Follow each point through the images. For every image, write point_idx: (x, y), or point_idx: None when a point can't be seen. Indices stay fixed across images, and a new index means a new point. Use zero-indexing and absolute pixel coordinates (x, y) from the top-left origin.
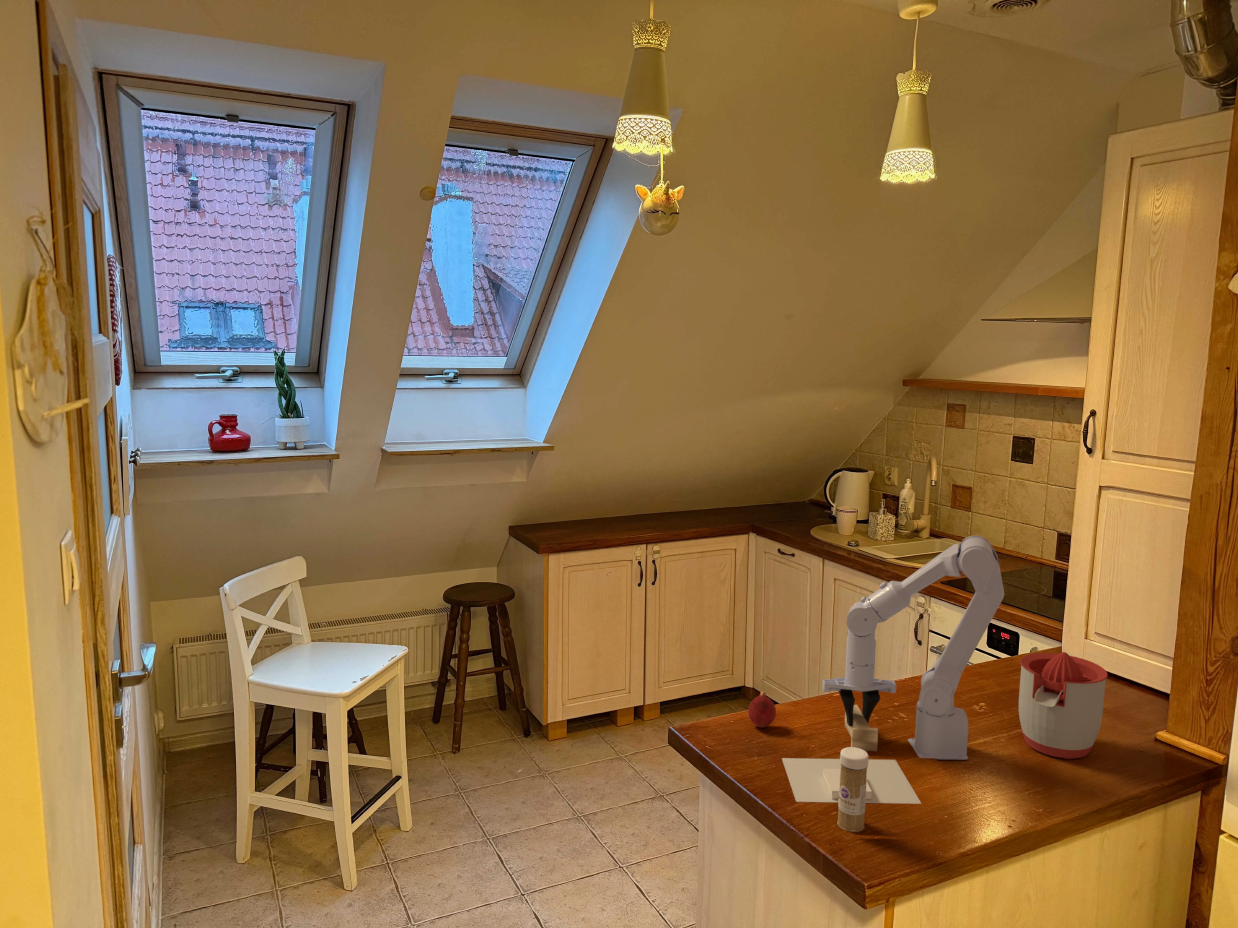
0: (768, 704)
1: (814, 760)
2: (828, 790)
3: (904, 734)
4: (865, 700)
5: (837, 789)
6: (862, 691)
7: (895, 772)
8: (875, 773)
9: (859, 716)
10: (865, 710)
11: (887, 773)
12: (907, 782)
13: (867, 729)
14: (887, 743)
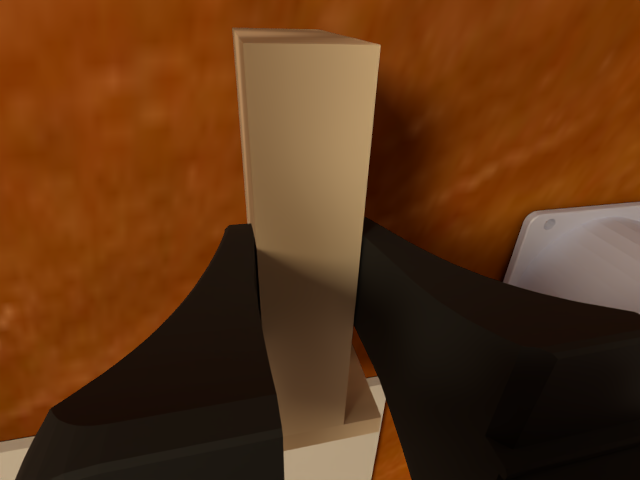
0: None
1: None
2: None
3: (554, 134)
4: (423, 412)
5: None
6: (485, 346)
7: (354, 445)
8: (285, 465)
9: (321, 304)
10: (381, 347)
11: (325, 456)
12: (367, 477)
13: (319, 440)
14: (422, 240)
